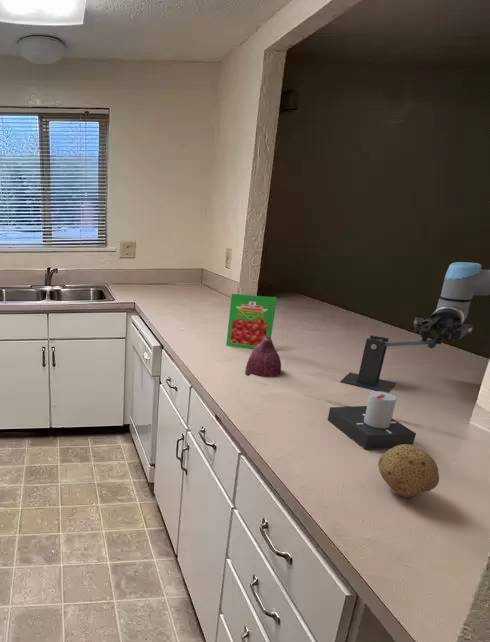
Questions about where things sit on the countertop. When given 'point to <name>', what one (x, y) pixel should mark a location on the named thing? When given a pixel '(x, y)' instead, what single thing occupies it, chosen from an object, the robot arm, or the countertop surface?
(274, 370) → the vegetable
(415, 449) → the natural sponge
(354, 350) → the countertop surface
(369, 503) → the countertop surface
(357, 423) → the timer panel
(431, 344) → the switch lever
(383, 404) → the timer knob
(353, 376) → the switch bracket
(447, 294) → the robot arm
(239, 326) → the tomato puree packet
